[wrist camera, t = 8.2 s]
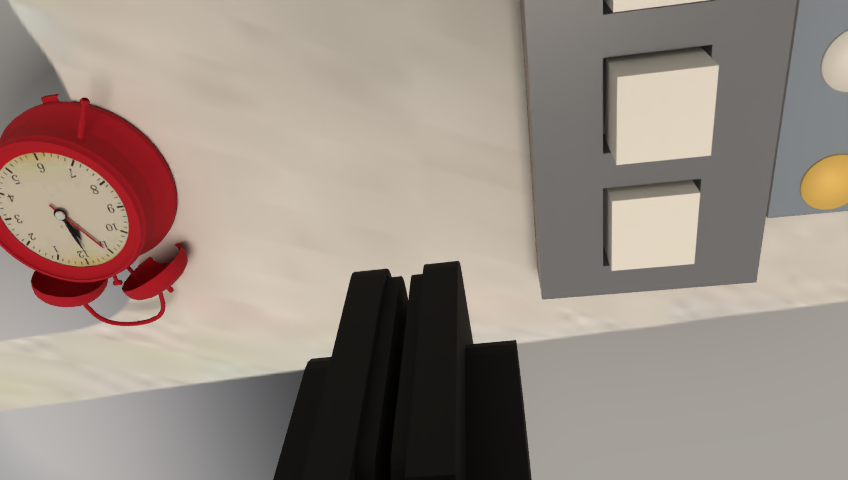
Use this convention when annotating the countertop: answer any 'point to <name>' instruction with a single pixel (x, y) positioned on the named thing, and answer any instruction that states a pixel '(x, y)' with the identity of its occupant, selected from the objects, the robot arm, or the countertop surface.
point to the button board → (596, 169)
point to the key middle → (660, 105)
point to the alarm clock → (85, 204)
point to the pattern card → (813, 115)
